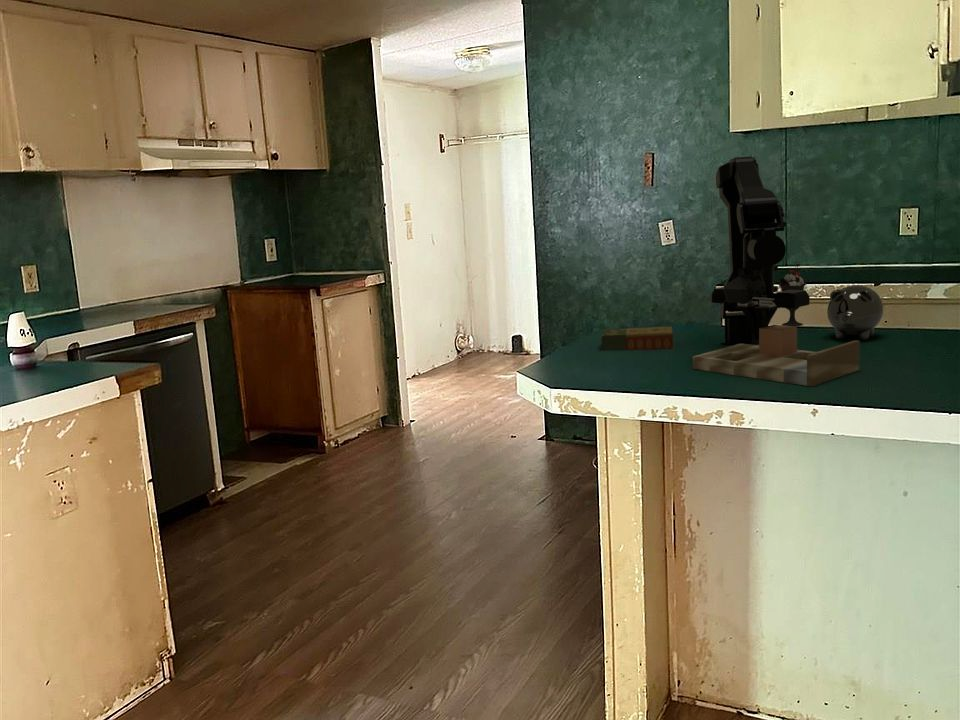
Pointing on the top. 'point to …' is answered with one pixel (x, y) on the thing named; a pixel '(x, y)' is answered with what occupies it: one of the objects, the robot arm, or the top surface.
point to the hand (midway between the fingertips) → (758, 340)
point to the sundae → (792, 283)
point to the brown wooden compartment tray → (782, 363)
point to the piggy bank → (854, 311)
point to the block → (778, 340)
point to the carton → (637, 338)
